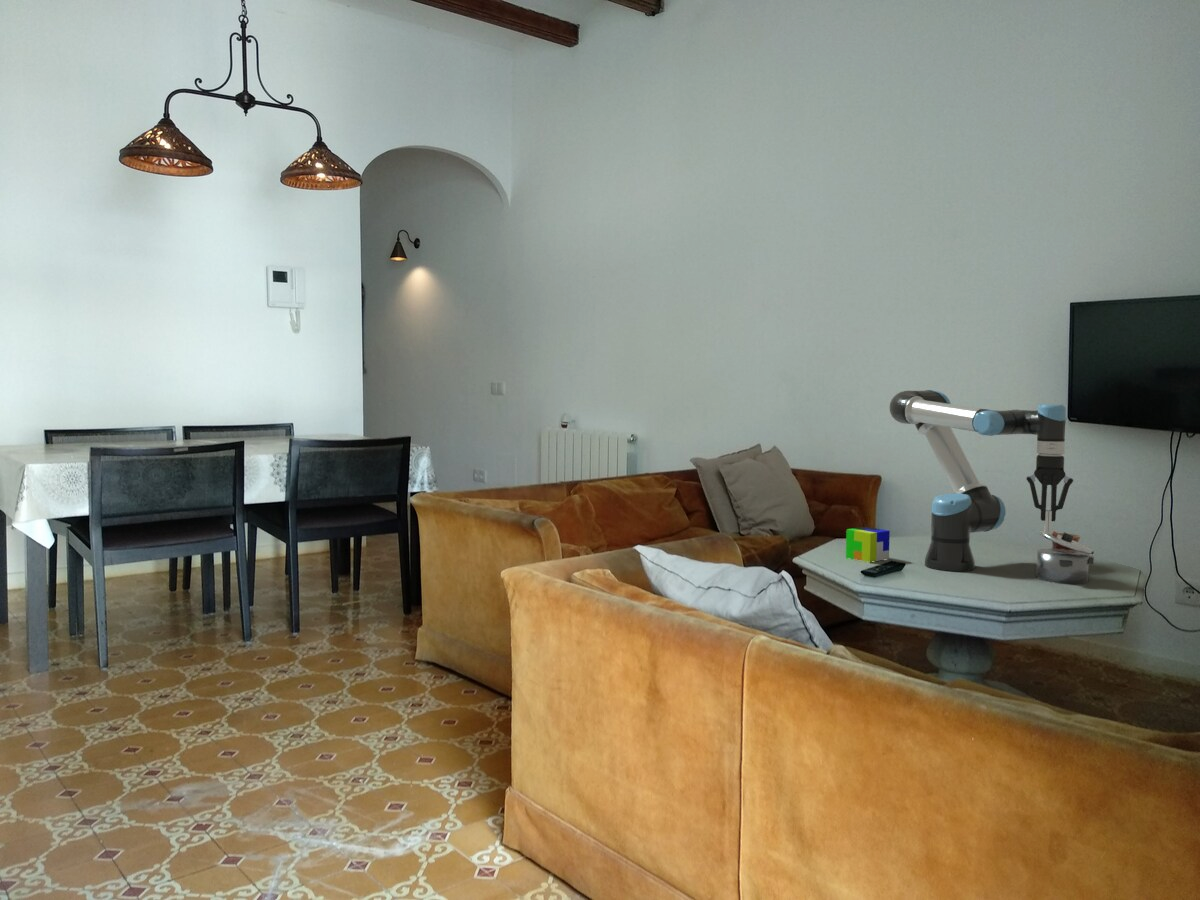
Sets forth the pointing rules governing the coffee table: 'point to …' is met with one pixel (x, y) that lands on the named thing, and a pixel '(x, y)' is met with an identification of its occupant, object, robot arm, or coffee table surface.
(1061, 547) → the mug
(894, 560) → the coffee table surface
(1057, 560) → the pot
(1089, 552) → the lid
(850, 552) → the puzzle toy
